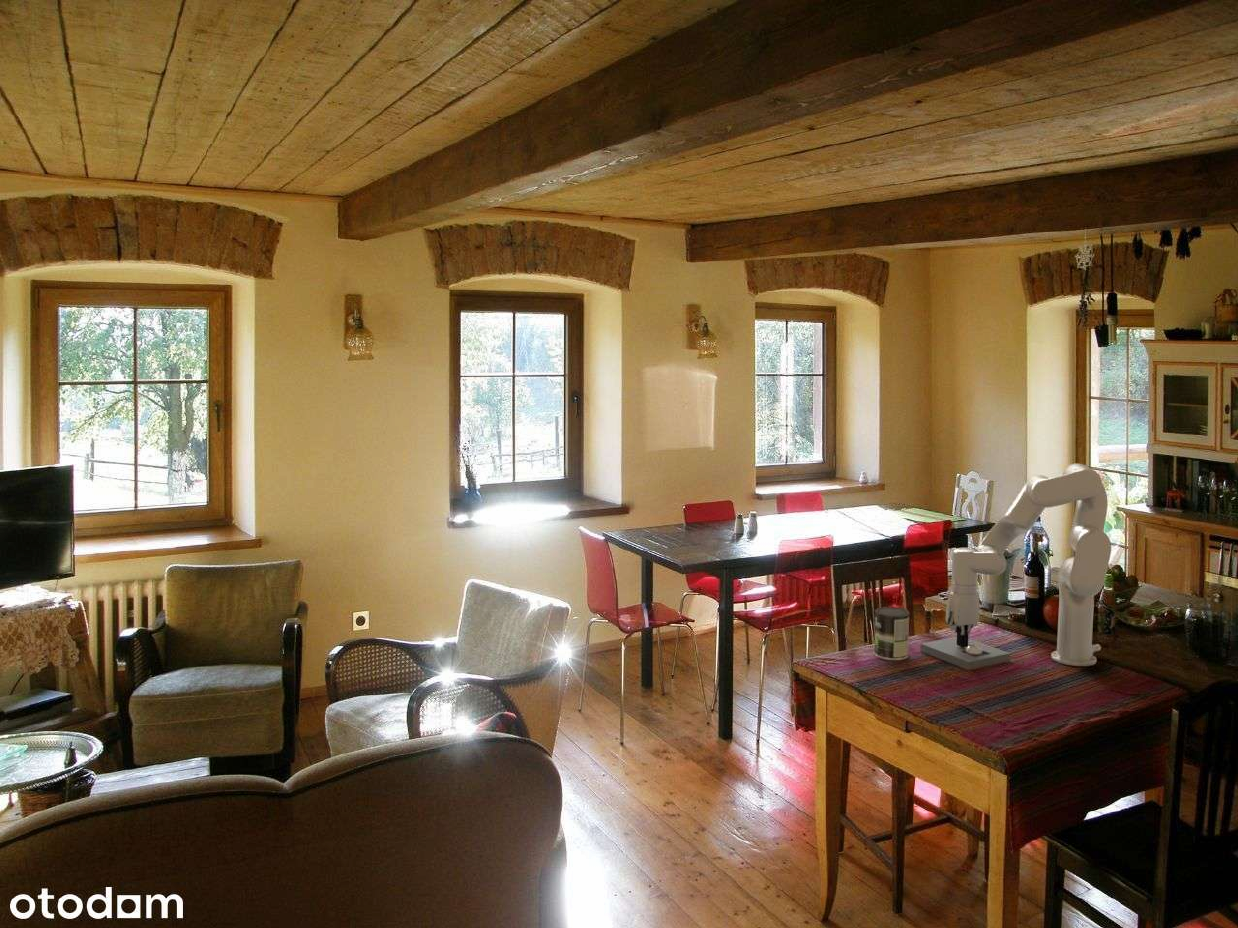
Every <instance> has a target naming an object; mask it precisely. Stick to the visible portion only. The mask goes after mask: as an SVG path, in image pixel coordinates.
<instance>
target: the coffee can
mask: <svg viewBox="0 0 1238 928" xmlns="http://www.w3.org/2000/svg"><path fill="white" fill-rule="evenodd" d="M874 612H875V620H874V623H875V624H874V653H873V654H874V656H875V657H876V658H879V659H882V660H886V661H902V660H906V659H907V658H908V657H909V631H910V630H909V627H910V624H909V623H910V615H911V614H910V611H909V610H908V609H905V608H901V607H897V606H895V607H894V606H884V607H883V606H882V607H878V608H876V609H875V611H874Z"/></svg>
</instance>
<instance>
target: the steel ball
mask: <svg viewBox="0 0 1238 928" xmlns="http://www.w3.org/2000/svg"><path fill="white" fill-rule="evenodd" d="M965 653H967V654H969V655H972V656H975V657H977V656H982V655H983V651H982V648H981V647H980V646H979V645H977V644H970V645H968V646H967V648H966V650H965Z"/></svg>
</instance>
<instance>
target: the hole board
mask: <svg viewBox="0 0 1238 928" xmlns="http://www.w3.org/2000/svg"><path fill="white" fill-rule="evenodd" d="M970 644H977V645H979V646H980V647H981V648H982V651H983V655H982V656H977V657H975V656H972V655H969V654H967V653H965V650H966V648H967V647H961V646H958V645H957V635H956V636H953V637H947V638H943V639H941V638H940V639H938V640H932V641H928V642H922V643H920V652H922V653H924V654H927V655H929V656H932V657H933V658H936V659H939V660H942V661H944V662H947V663H949V664H952V665H953V666H957V667H959V668H962V669H965V670H967V671H970V670H975V669H980V668H984V667H990V666H994V665H998V664H1003V663H1007V662H1011V653H1010V652H1008V651H1005V650H1002V649H999V648H997V647H994V646H991V645H988V644H986V643H983V642H980V641H978V640H975V639H971V638H969V637H968V645H970Z"/></svg>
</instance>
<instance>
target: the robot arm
mask: <svg viewBox="0 0 1238 928" xmlns="http://www.w3.org/2000/svg"><path fill="white" fill-rule="evenodd" d="M1105 488H1106V487H1105V486H1104V484H1103V482H1102V476H1101V475H1100V473H1098V472H1097V471H1096V470H1094V469H1093V468H1090V467H1089V466H1087V465H1085V464H1083V463H1078V462H1077V463H1076V462H1075V463H1071V464H1069V465H1068V466H1066V468H1065V469H1064V471H1063V473H1062V475H1058V476H1053V477H1047V476H1045V475H1041V474H1040V475H1039V474H1037V475H1033V476H1031V477H1030V478H1029V479H1027V481H1026V482H1025V483H1024V485H1023V486H1022V487H1021V489H1020V491H1019V492H1018V494H1017V495H1016V497H1015V498H1014V500H1013V502H1012V503H1011V505H1010V506H1009V507H1008V508H1007V510H1006V511H1005V513H1004V515H1002V517H1000V518H999V520H998V521H997V522H996V523H995V524H994V525H993V526H992V527H991V529H989V531H988V532H987V534H986V535H985V536H984V538H983V539H982V541H981V542H980V544H979V545H978V547H977V548H976V549H974V548H972V547H957V548H955V549H954V550H953V551H952V559H951V560H952V561H951V563H952V564H951V585H950V587H951V591H950V592H948V593H949V594H948V597H947V602H946V609H945V622H946V623H947V624H948V629H949V630H951V631H955V633H956V636H957V645H958V646H961V647H967V646H968V638H969V635H970V634H971V630H973V629H972V628H973V627H976V626H977V625H978V622H979V620H980V614H981V613H980V611H981V610H980V598H979V592H978V587H979V583H978V577H979V575H978V574H981V575H986V576H999V575H1001V574H1002V573H1004V572H1005V571H1006V569H1007V560H1006V558H1005V555H1004V553H1005V552H1006V550H1007V549H1008V548H1009V546H1010V545H1011V544H1012V543H1013V541H1014V540H1016V539H1017V538H1018V537H1020V536H1022V535H1024V534H1026V533H1028V532H1029V531H1030V530H1031V529H1032V528H1033V526H1034V525H1035V523H1036V522H1037V520H1038V519H1039V517H1040V516H1041V515H1042V513H1043V511H1044V510H1045V509H1046V508H1048V509H1049V508H1054V507H1058V506H1063V505H1068V504H1070V503H1074V502H1075V510H1074V511H1075V512H1074V516H1073V521H1072V525H1071V529H1070V534H1069V539H1068V540H1069V541H1068V543H1069V546H1070V548H1071V549H1072V550H1073V551H1074V556H1073V557H1069V558H1067V559H1065V560H1064V561H1063V562H1062V563H1061V565H1060V566H1059V569H1058V590H1059V593H1058V594H1059V595H1058V597H1059V602H1058V603H1059V604H1058V620H1057V621H1058V622H1057V637H1056V638H1057V641H1056V650H1054V651H1052V652H1051V653H1050V655H1051V656H1050V658H1051V659H1052V660H1053V661H1055V662H1056V663H1058V664H1063V665H1066V666H1072V667H1073V666H1075V667H1089V666H1090V667H1091V666H1093V665H1095V664H1096V663H1097V657H1096V655H1094V653H1095V652H1098V651H1101V649H1102V646H1101V645H1100V644H1099V643H1098V644H1093V627H1094V626H1093V625H1094V622H1093V621H1094V611H1095V610H1094V608H1095V596H1096V595H1098V593H1100V592H1101V590H1102V589H1103V586H1104V584H1105V581H1106V577H1107V572H1108V567H1109V564H1110V561H1111V560H1110V559H1111V554H1112V542H1111V539H1110V537H1109V536H1108V534H1106V532H1105V525H1106V519H1107V513H1108V503H1109V502H1108V494H1107V491H1106V489H1105Z"/></svg>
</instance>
